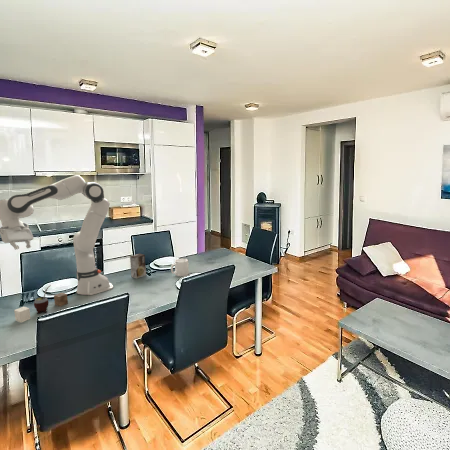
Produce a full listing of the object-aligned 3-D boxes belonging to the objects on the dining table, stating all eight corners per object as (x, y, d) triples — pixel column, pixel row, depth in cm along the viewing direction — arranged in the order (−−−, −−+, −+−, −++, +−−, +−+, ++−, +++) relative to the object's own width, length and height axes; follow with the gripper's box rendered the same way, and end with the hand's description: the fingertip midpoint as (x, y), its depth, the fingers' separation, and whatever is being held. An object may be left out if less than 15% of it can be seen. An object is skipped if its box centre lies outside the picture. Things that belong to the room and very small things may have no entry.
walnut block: (62, 301, 192) (61, 292, 191) (67, 303, 190) (66, 294, 189) (54, 304, 188) (53, 295, 187) (60, 306, 186) (59, 297, 185)
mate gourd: (32, 313, 177) (28, 288, 175) (44, 307, 185) (41, 283, 182) (41, 315, 175) (38, 289, 172) (54, 309, 182) (51, 284, 179)
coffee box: (140, 273, 242) (139, 253, 239) (146, 275, 238) (145, 254, 235) (130, 277, 234) (129, 256, 231) (136, 278, 231) (135, 257, 228)
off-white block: (25, 316, 174) (24, 306, 173) (30, 318, 171) (29, 308, 170) (15, 320, 169) (14, 310, 168) (20, 322, 167) (19, 312, 166)
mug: (175, 278, 231) (174, 264, 229) (168, 274, 239) (168, 261, 237) (191, 274, 239) (190, 260, 237) (184, 270, 247) (184, 257, 245)
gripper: (3, 224, 170) (14, 247, 170) (29, 224, 191) (39, 244, 190) (-7, 229, 171) (4, 252, 170) (21, 229, 191) (30, 249, 191)
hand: (23, 248), depth 180 cm, fingers open, 8 cm apart
